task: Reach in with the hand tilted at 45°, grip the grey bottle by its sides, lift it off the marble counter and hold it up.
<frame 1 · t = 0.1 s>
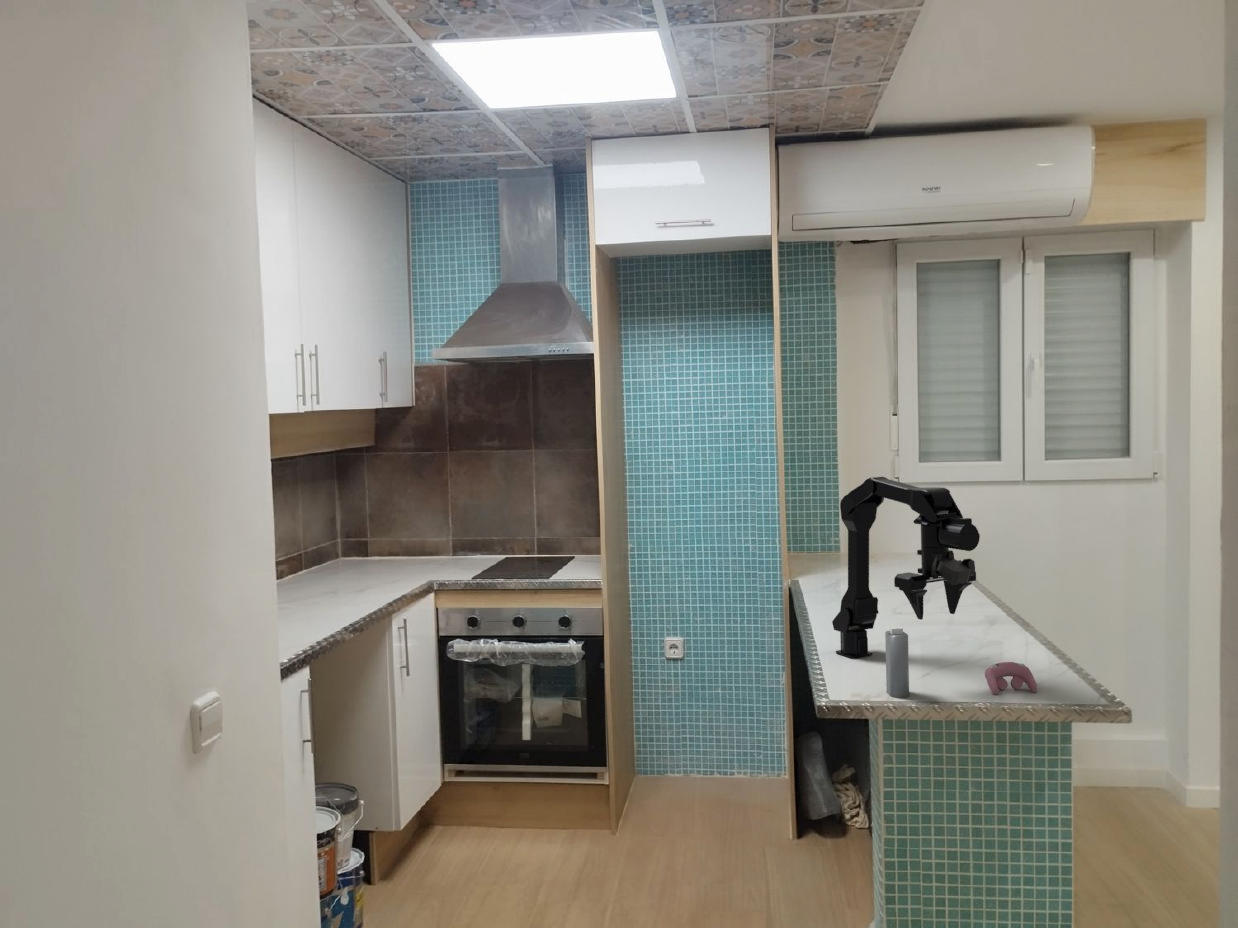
hand: (936, 616, 221), 15 cm above the countertop, tool pointing down, fingers open, 9 cm apart
video game controller: (1010, 691, 214), on the countertop
grey bottle: (897, 693, 215), on the countertop
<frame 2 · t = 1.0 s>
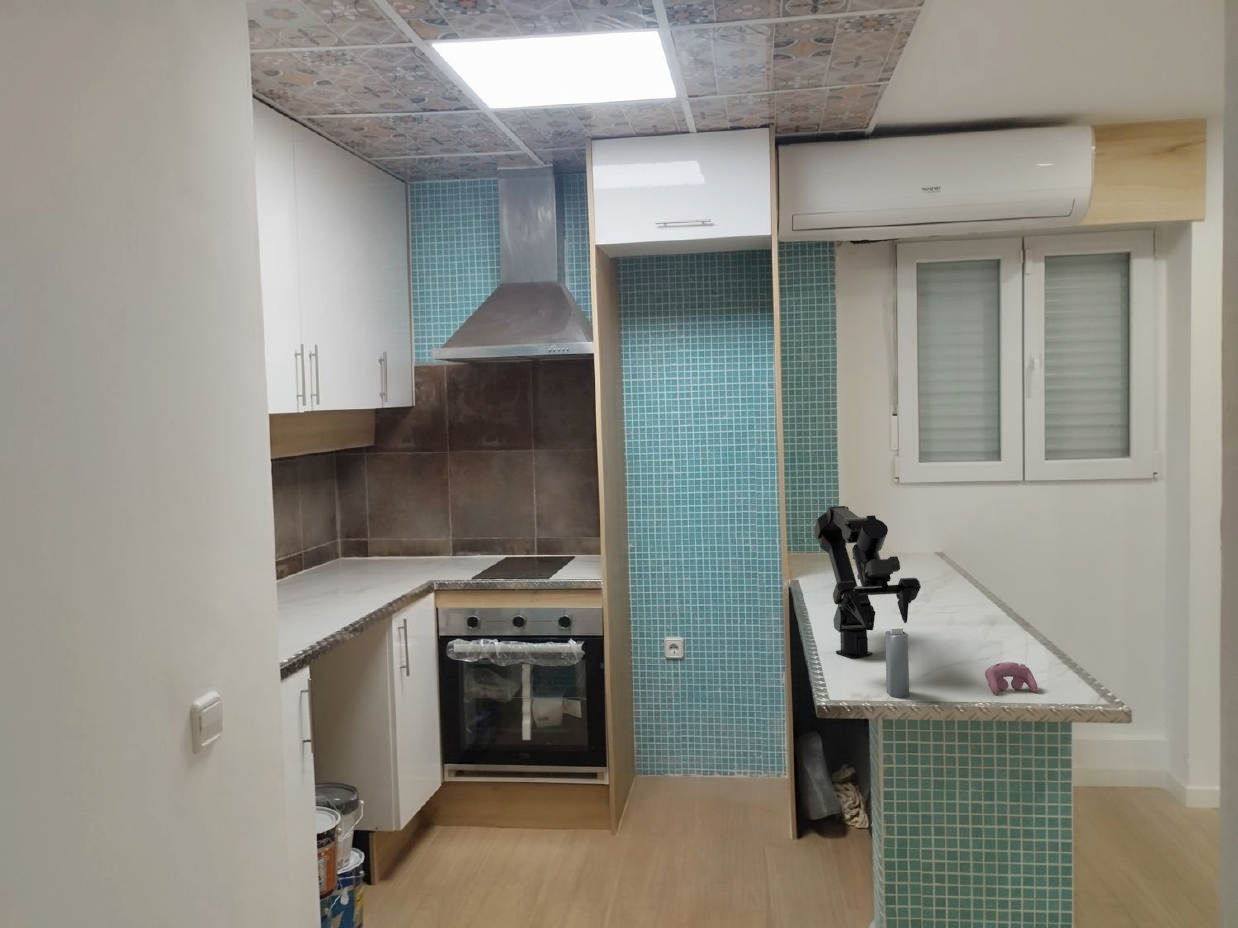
hand: (885, 623, 222), 13 cm above the countertop, tool tilted 45°, fingers open, 9 cm apart
nothing on the countertop moved.
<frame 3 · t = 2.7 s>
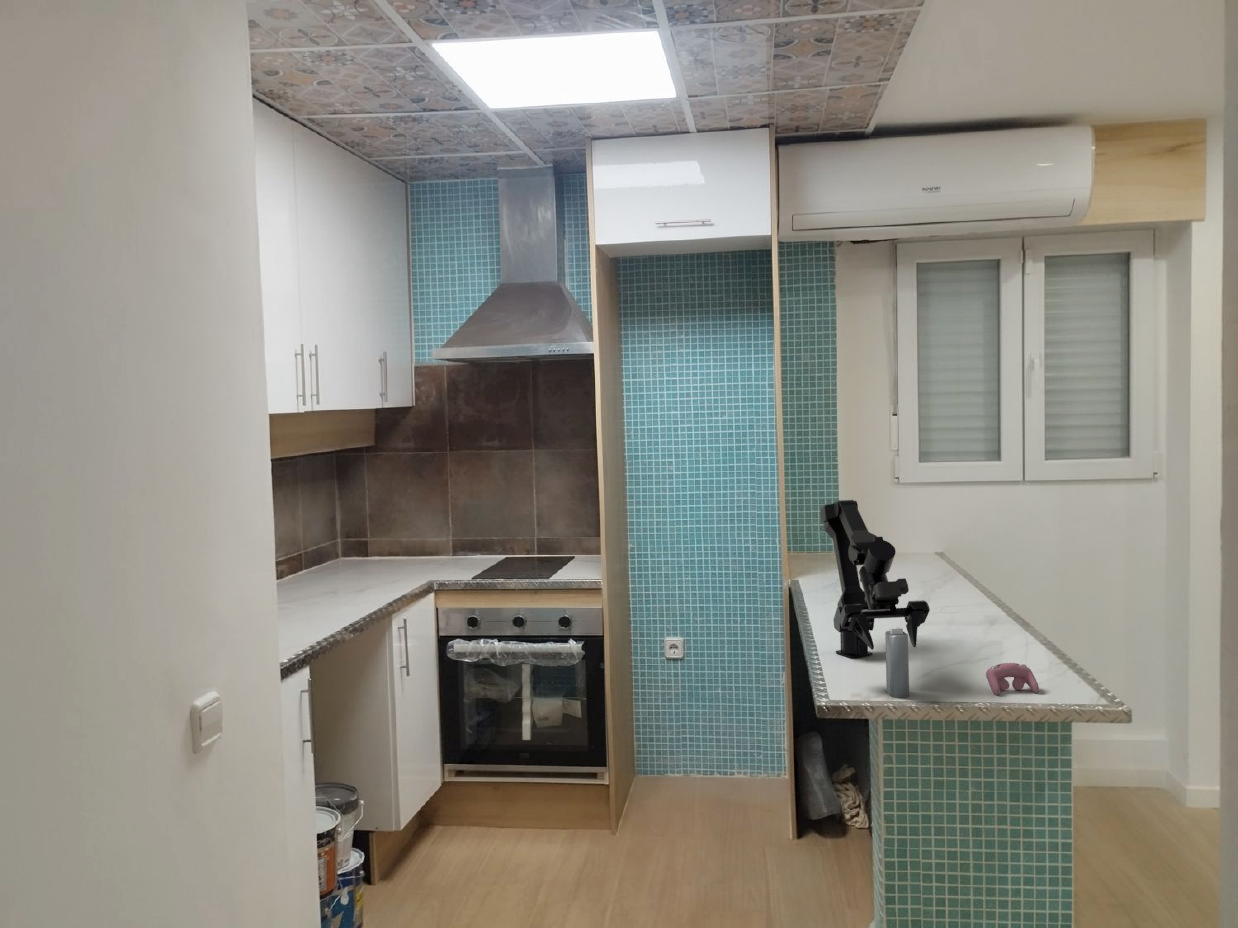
hand: (893, 647, 216), 9 cm above the countertop, tool tilted 45°, fingers open, 9 cm apart
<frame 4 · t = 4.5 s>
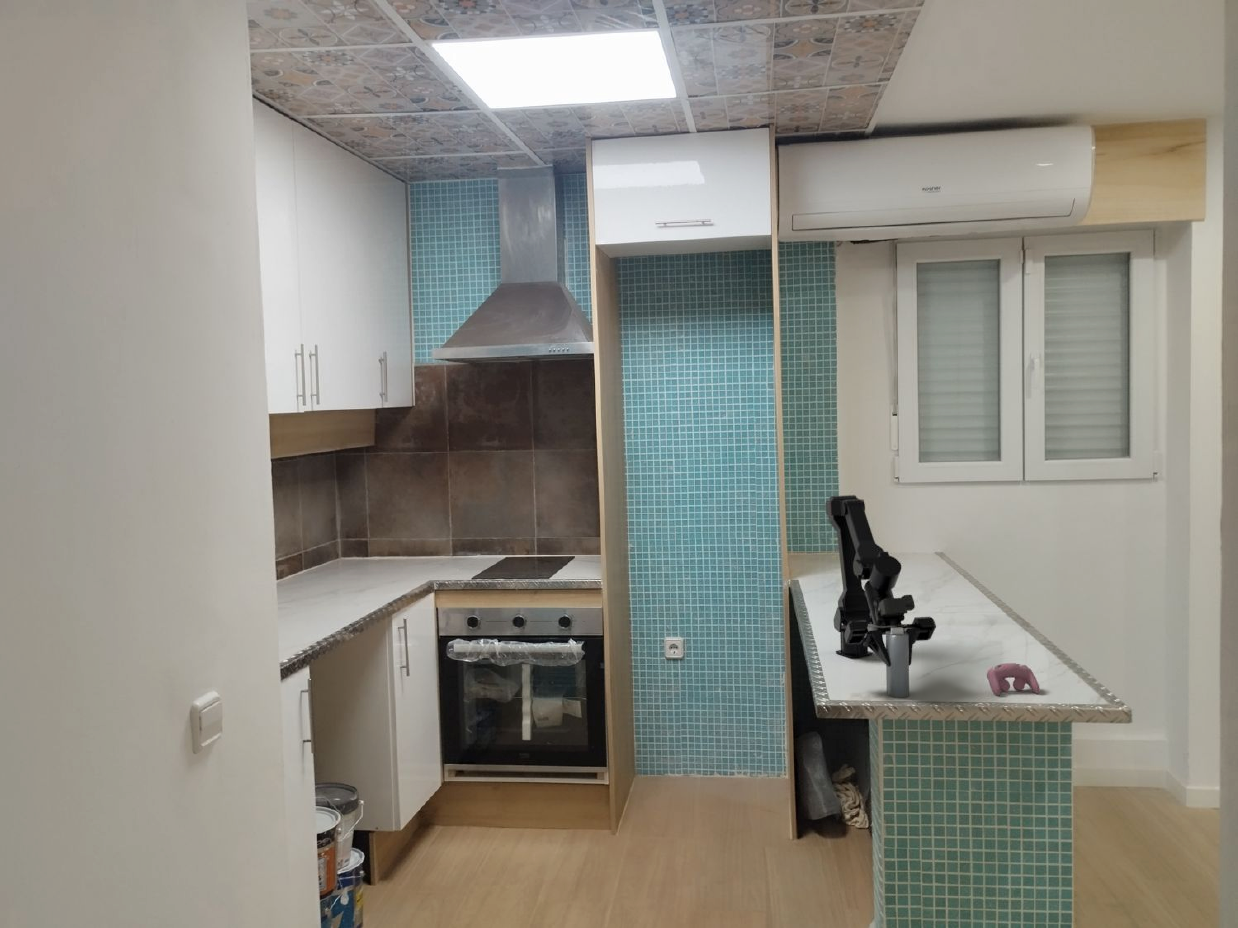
hand: (899, 665, 213), 7 cm above the countertop, tool tilted 45°, fingers closed on grey bottle, 4 cm apart
grey bottle: (897, 693, 215), on the countertop, touching gripper
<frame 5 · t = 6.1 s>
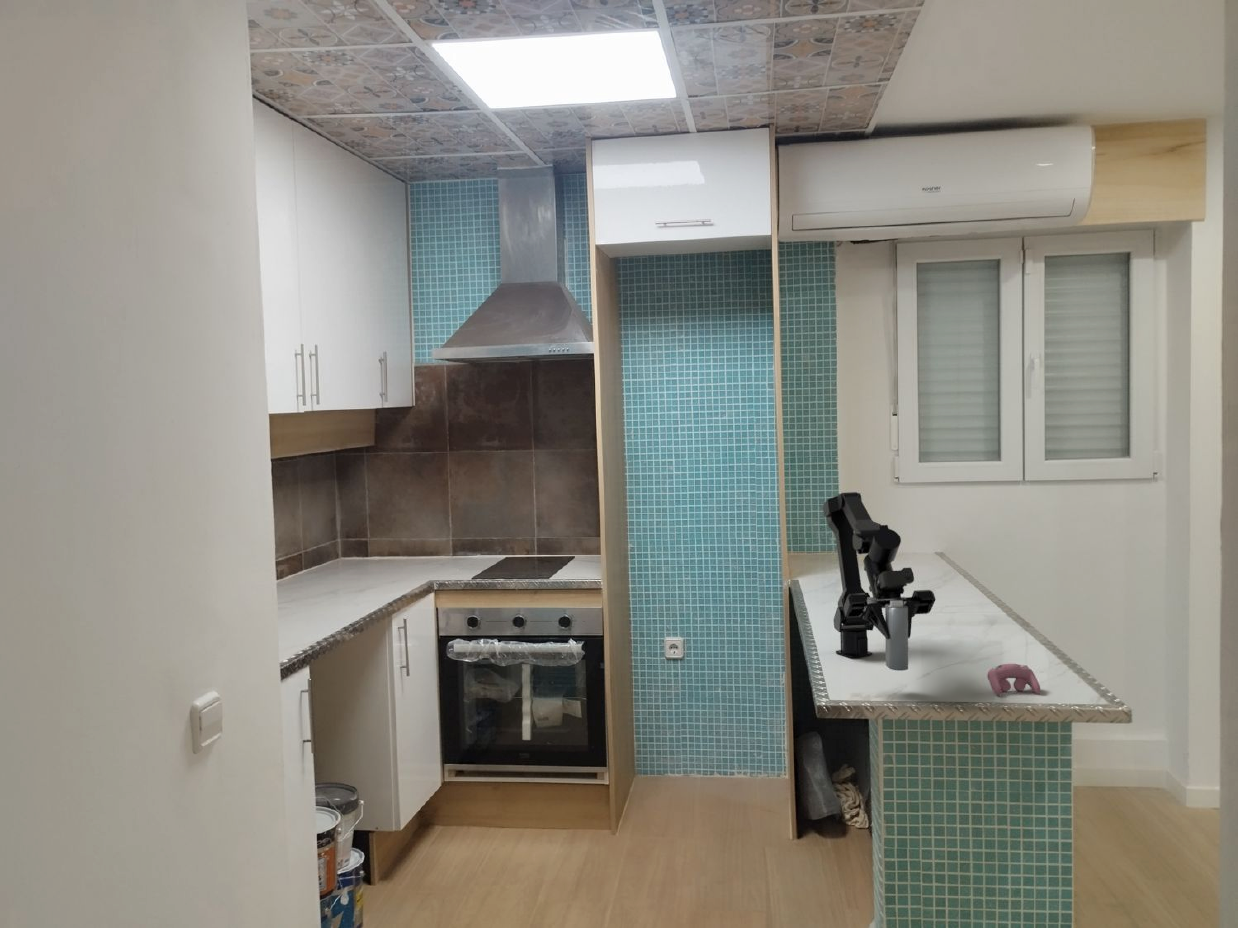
hand: (898, 637, 213), 12 cm above the countertop, tool tilted 45°, fingers closed on grey bottle, 4 cm apart
grey bottle: (896, 666, 215), point 6 cm above the countertop, touching gripper
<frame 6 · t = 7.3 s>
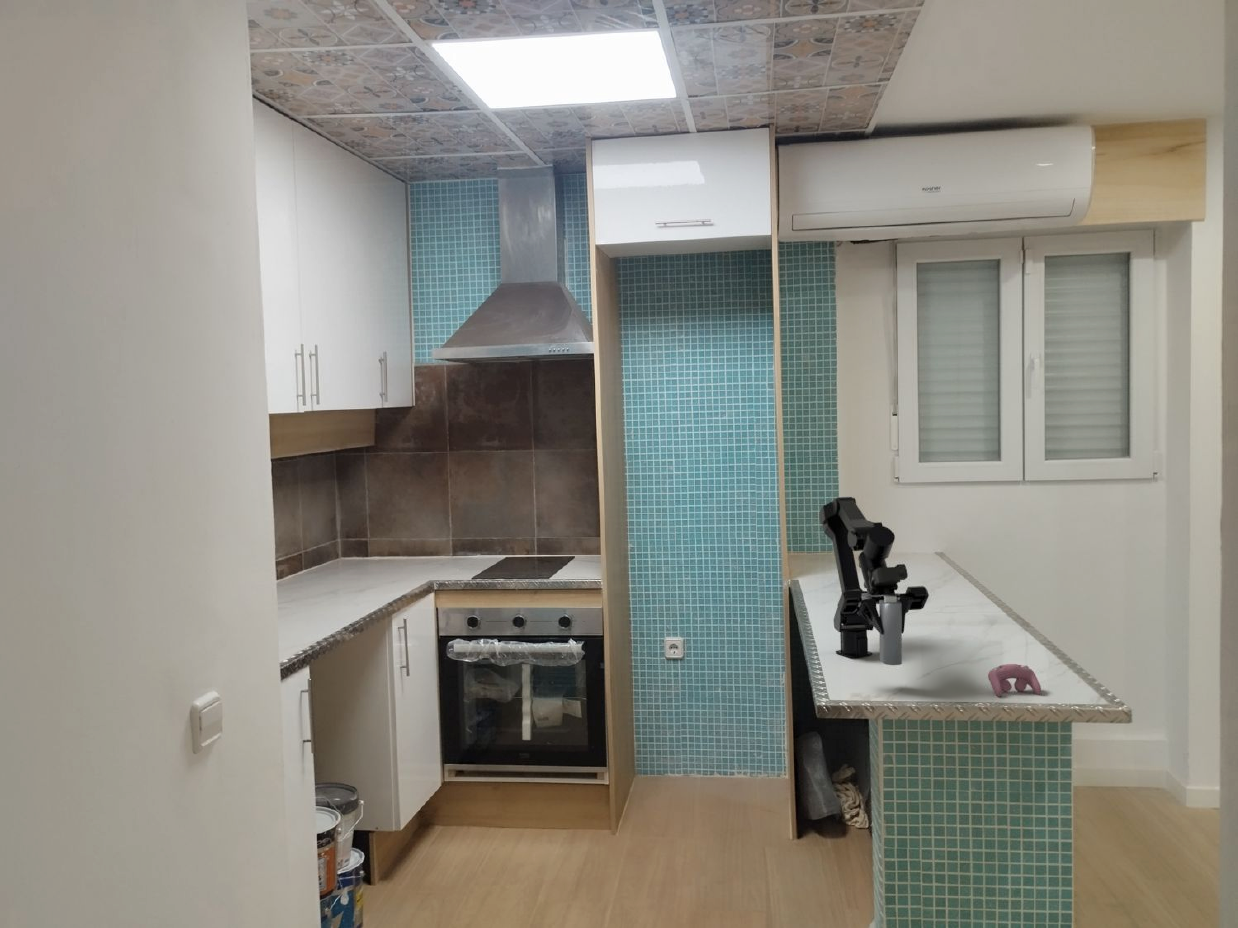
hand: (892, 632, 217), 12 cm above the countertop, tool tilted 45°, fingers closed on grey bottle, 4 cm apart
grey bottle: (890, 661, 219), point 6 cm above the countertop, touching gripper
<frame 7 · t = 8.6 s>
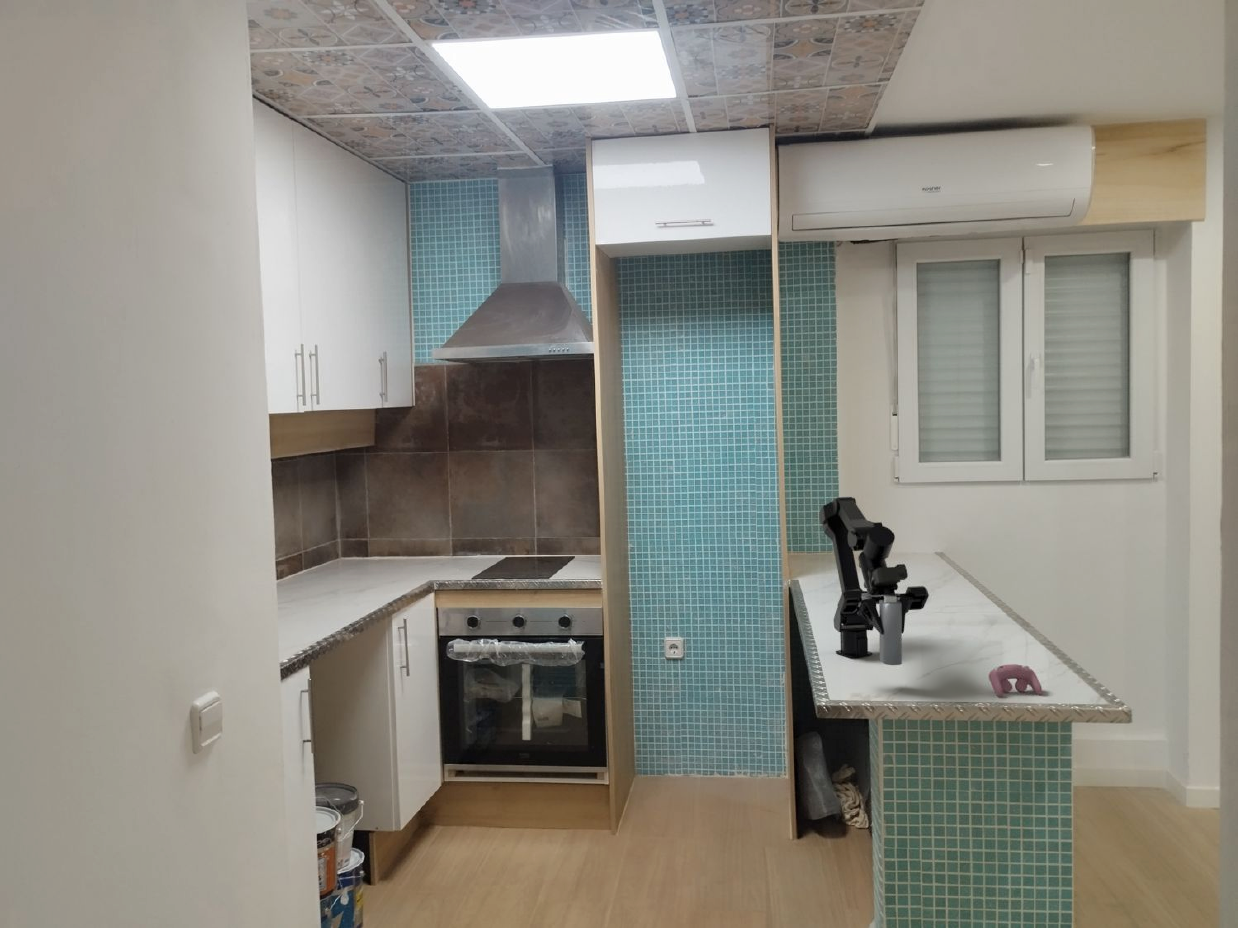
hand: (892, 632, 217), 12 cm above the countertop, tool tilted 45°, fingers closed on grey bottle, 4 cm apart
grey bottle: (890, 661, 219), point 6 cm above the countertop, touching gripper
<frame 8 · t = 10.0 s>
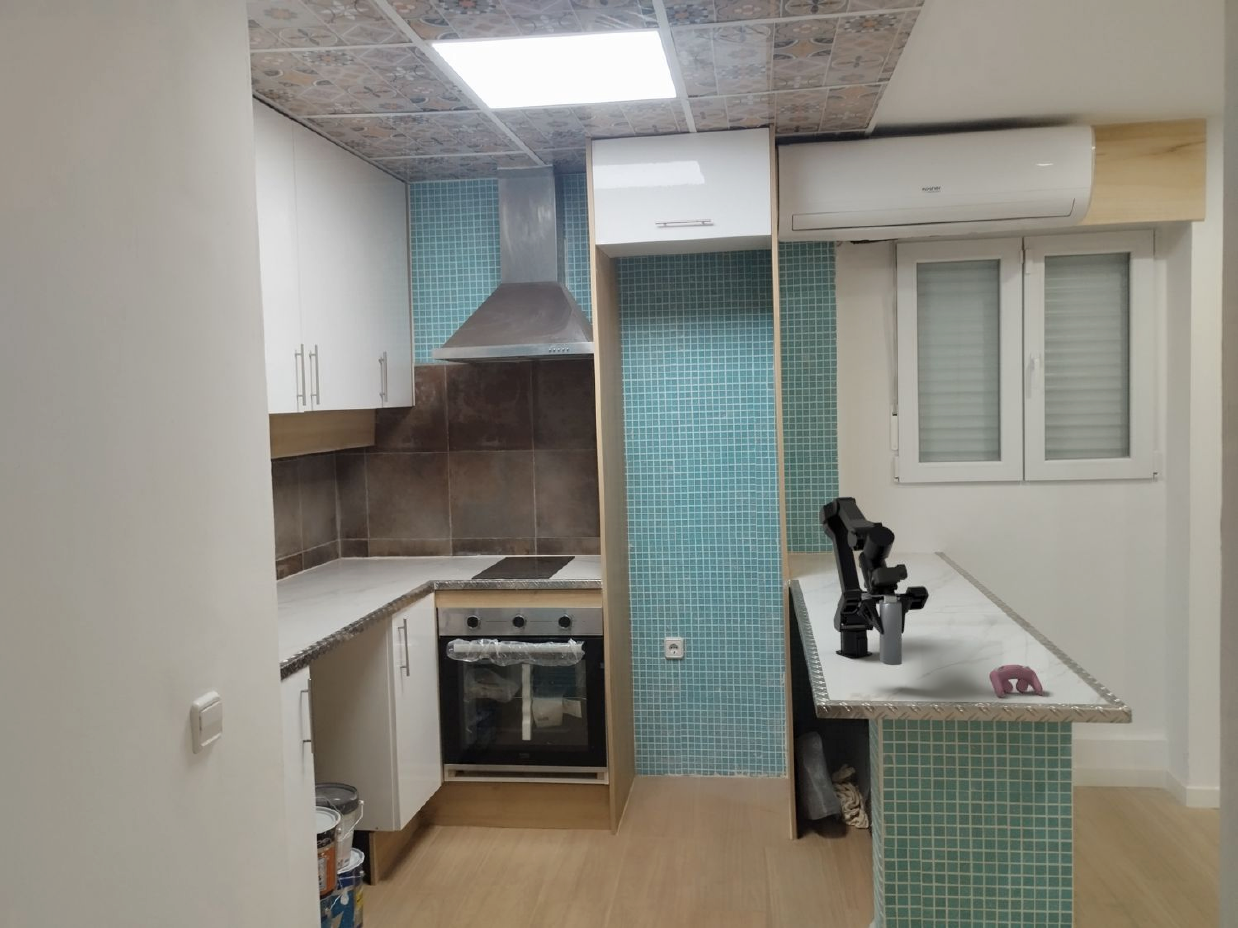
hand: (892, 632, 217), 12 cm above the countertop, tool tilted 45°, fingers closed on grey bottle, 4 cm apart
grey bottle: (890, 661, 219), point 6 cm above the countertop, touching gripper
at the end: the gripper is holding grey bottle; grey bottle point 5.9 cm above the countertop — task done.
